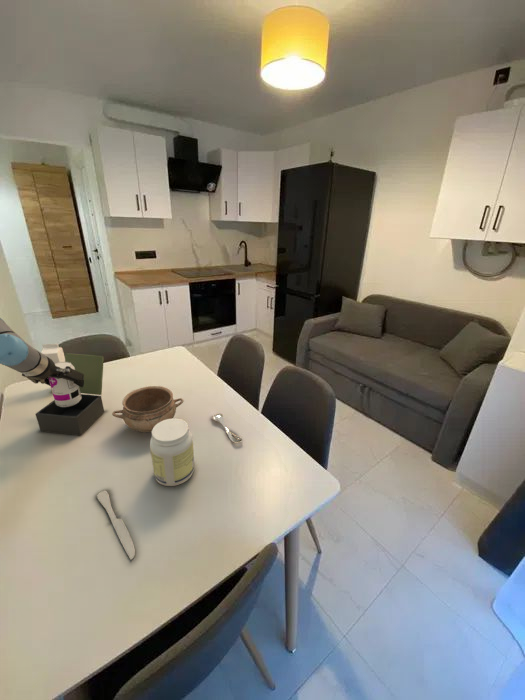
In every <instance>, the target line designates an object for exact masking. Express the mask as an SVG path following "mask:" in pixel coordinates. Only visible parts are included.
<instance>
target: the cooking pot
mask: <svg viewBox="0 0 525 700" xmlns="http://www.w3.org/2000/svg"><path fill="white" fill-rule="evenodd" d="M183 403H184V398H182V397H180V398H176V399H174V393H173V392H172V390H171V389H169V388H167V387H164V386H160V385H150V386H143V387H139V388H136V389H134V390H132V391H130V392H129V393H127V394H126V395H125V396H124V398H123V399H122V403H121V404H122V406H123V407H122V409H120V410H114V411H113V412H112V414H111V415H112V416H113V417H115V418H117V419H121V420H123V422H124V424H125V425H126V427H128V428H129V429H130V430H133V431H135V432H139V433H149V432H152V429H153V428H154V426H155V425H156V424H158V423H159V422H161V421H163V420H166V419H172V418H174V417H175V415H176V413H177V408H178V407H180V406H181V405H182V404H183Z"/></svg>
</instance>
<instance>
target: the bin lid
mask: <svg viewBox="0 0 525 700" xmlns="http://www.w3.org/2000/svg"><path fill="white" fill-rule="evenodd" d="M64 356H65V362H70V363H71V364H72V365H73V366H74V367H75V370H76V371H78V372H80V373H83V374H84V386H83V387H80V386H79V388H80V392H81V394H86V395H97V396H102V394H103V393H102V392H103V377H104V361H105V359H104V358H105V356H104V355H93V354H79V353H70V352H69V353H68V352H67V353H64Z"/></svg>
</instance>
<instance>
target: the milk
mask: <svg viewBox="0 0 525 700" xmlns="http://www.w3.org/2000/svg"><path fill="white" fill-rule="evenodd" d="M41 345H42V350H41V353H42V354H44V355H45V356H47V357H48V358H50V359H51V360H52V361H53V362H54V363H58V362H65V353H64V349H63V347H62V346H59V343H44V344H43V343H42V344H41Z"/></svg>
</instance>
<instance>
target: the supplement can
mask: <svg viewBox="0 0 525 700" xmlns="http://www.w3.org/2000/svg"><path fill="white" fill-rule="evenodd" d="M54 364H55V366H57V367H60V368H62V369H65V368H66V366H69V367H71V368H72V369H74V370H75V367H74V366H73V365H72V364H71V363H70V362H58V363H54ZM57 376H58V375H57ZM48 379H49V383H50V386H49V387H50V389H51V392H52V397H53V401H54V400H55V404H56V405H57V406H60V407H69V406H73V405H75V404H77V403H78V402H79V401H80V400H81V398H82V396H81V394H82V393H81V392H80V388H79V386H78V385H77V384H75V383H73V382H74V381H70V380H66V379H62V378H60V379H57V378H50V377H48Z"/></svg>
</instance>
